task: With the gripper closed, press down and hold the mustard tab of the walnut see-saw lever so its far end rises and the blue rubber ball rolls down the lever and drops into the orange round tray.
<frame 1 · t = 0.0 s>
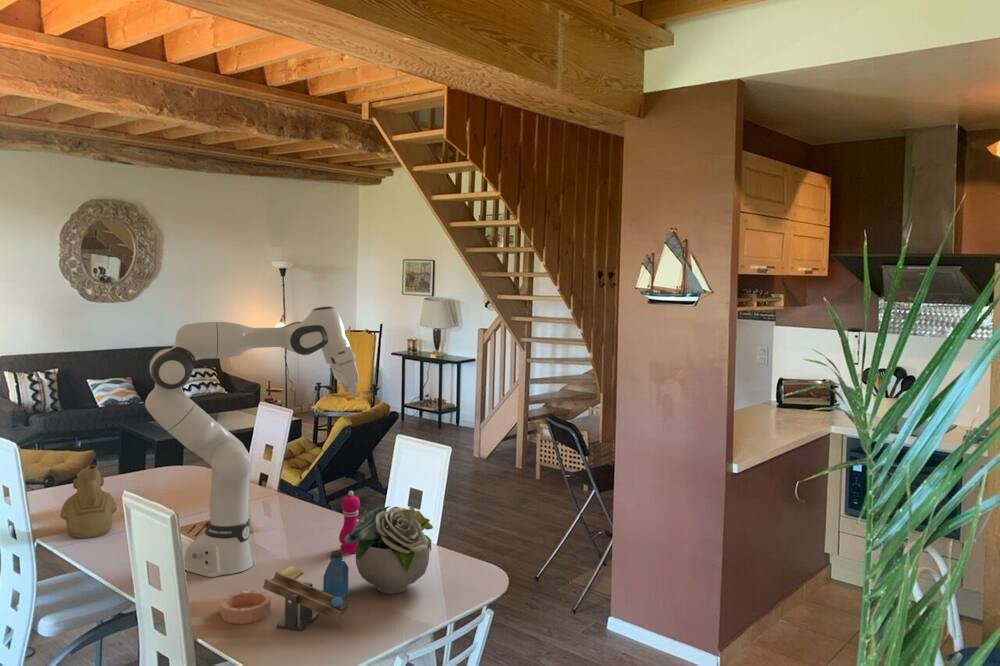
hand: (351, 394, 242), 52 cm above the table, tool tilted 20°, fingers open, 8 cm apart
orange round tray: (246, 613, 197), on the table
ceramic vessel: (89, 533, 254), on the table
lever: (314, 588, 196), point 7 cm above the table, hinge at 15.0°, touching ball
flower arrangement: (392, 589, 216), on the table
fulcrum: (298, 621, 193), on the table
ball: (337, 603, 190), point 6 cm above the table, tilted 11°, touching lever
pepper mill: (349, 551, 245), on the table
perfume bottle: (335, 594, 211), on the table
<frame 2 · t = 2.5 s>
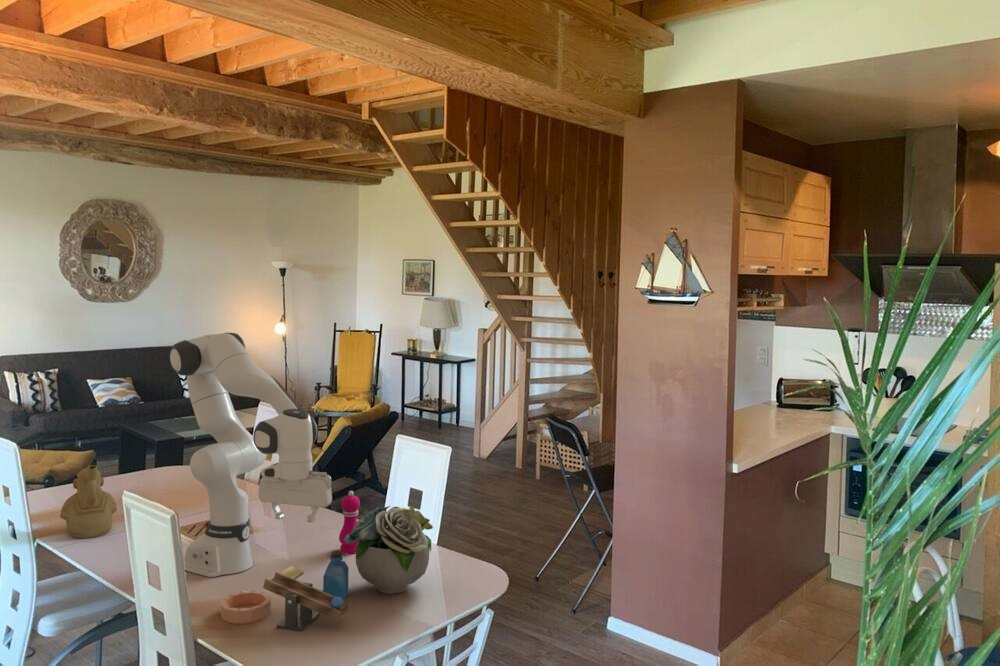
hand: (295, 520, 201), 24 cm above the table, tool pointing down, fingers open, 8 cm apart
nothing on the table moved.
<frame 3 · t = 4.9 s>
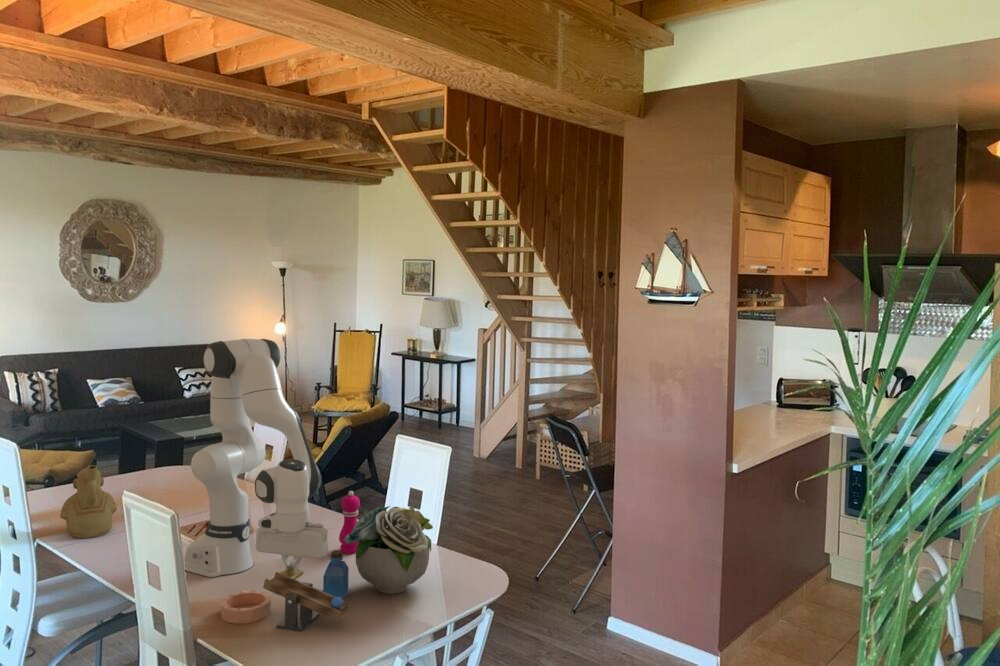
hand: (291, 570, 202), 10 cm above the table, tool pointing down, fingers closed
lever: (314, 588, 196), point 7 cm above the table, hinge at 15.0°, touching gripper
ball: (337, 603, 190), point 6 cm above the table, tilted 11°
everything else where it was.
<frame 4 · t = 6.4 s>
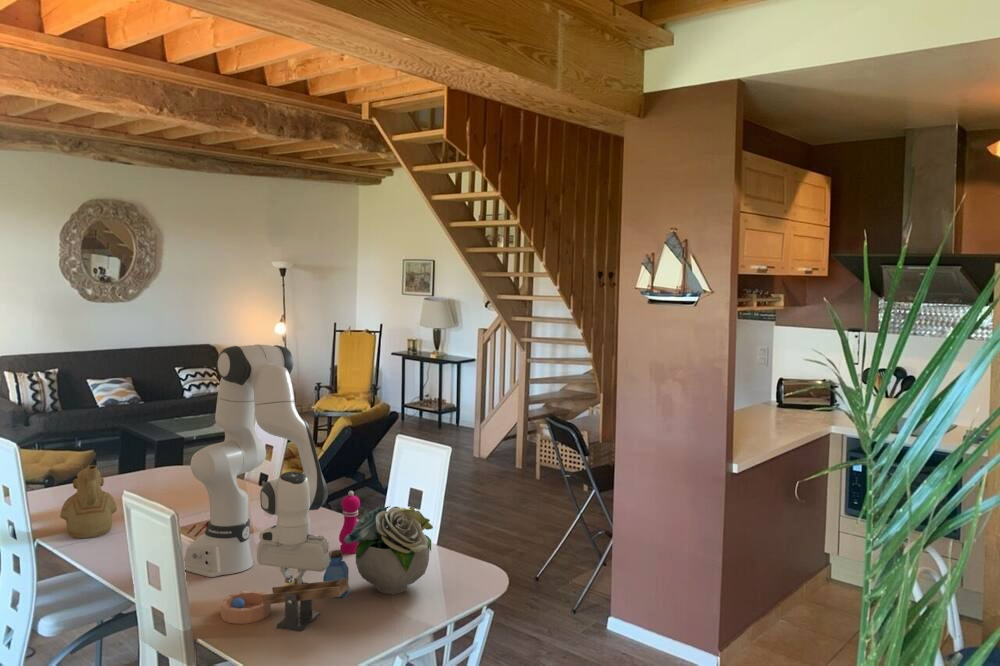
hand: (293, 583, 202), 6 cm above the table, tool pointing down, fingers closed
lever: (312, 584, 196), point 8 cm above the table, hinge at -13.2°, touching gripper
ball: (238, 604, 197), point 2 cm above the table, tilted 51°, touching orange round tray
everything else where it was.
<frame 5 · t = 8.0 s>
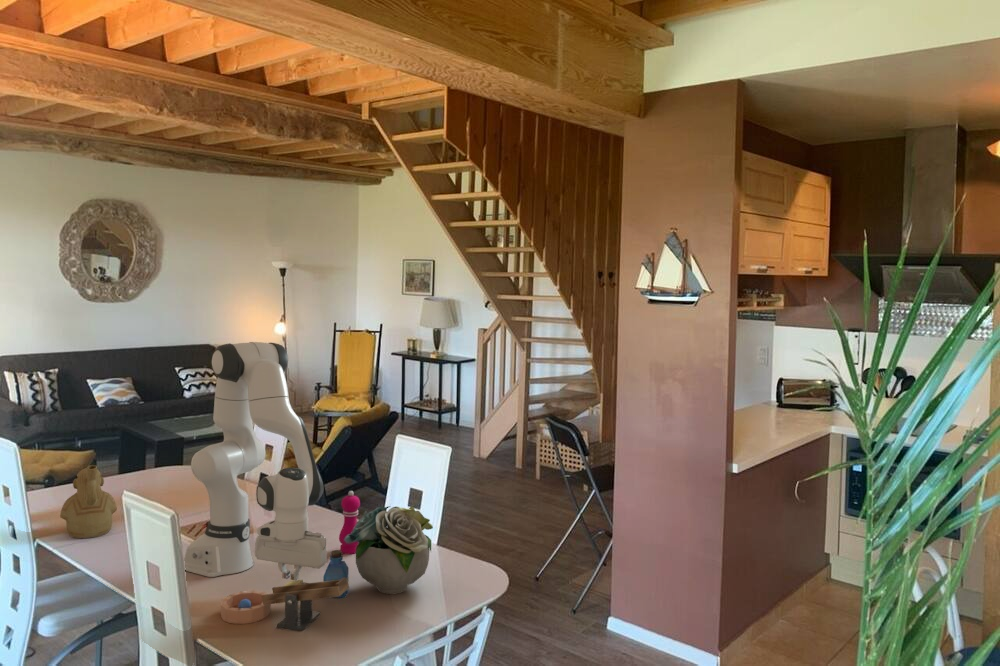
hand: (290, 578, 202), 7 cm above the table, tool pointing down, fingers closed
lever: (312, 584, 196), point 8 cm above the table, hinge at -13.4°
ball: (244, 605, 197), point 2 cm above the table, tilted 21°, touching orange round tray
everything else where it was.
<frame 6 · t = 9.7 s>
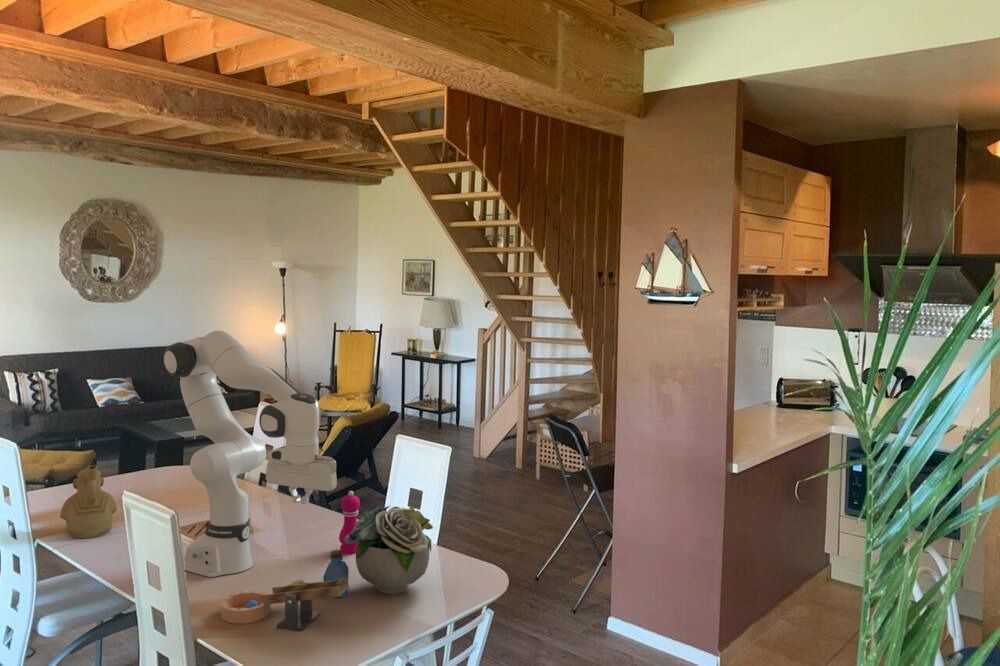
hand: (300, 502, 205), 27 cm above the table, tool pointing down, fingers closed
ball: (252, 606, 196), point 2 cm above the table, tilted 97°, touching orange round tray
everything else where it was.
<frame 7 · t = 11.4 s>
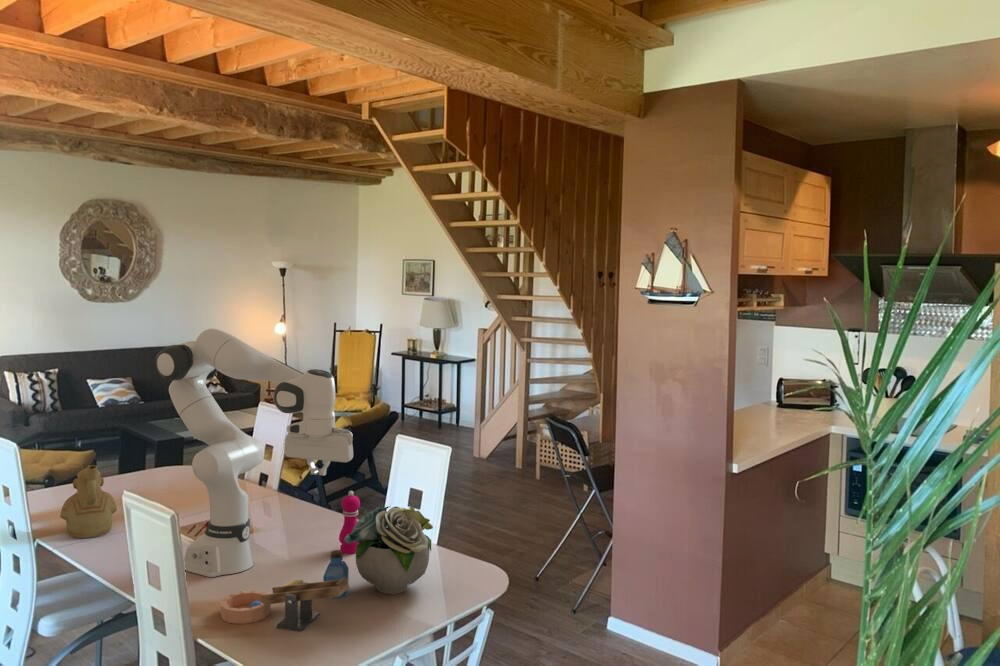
hand: (318, 474, 213), 33 cm above the table, tool pointing down, fingers closed
ball: (256, 607, 196), point 2 cm above the table, tilted 141°, touching orange round tray
everything else where it was.
at the end: ball inside the target area on the orange round tray (2.9 cm from its centre), point 2.1 cm above the orange round tray's base; ball touching orange round tray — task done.
